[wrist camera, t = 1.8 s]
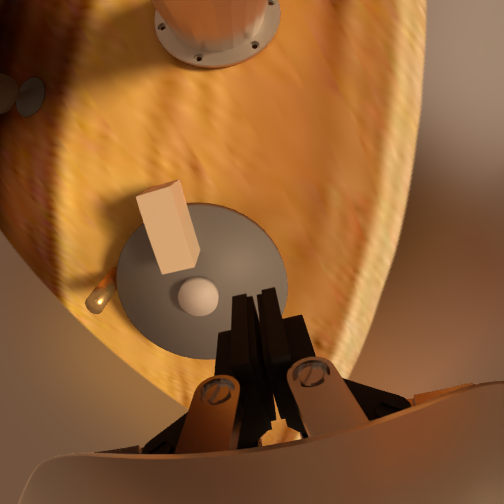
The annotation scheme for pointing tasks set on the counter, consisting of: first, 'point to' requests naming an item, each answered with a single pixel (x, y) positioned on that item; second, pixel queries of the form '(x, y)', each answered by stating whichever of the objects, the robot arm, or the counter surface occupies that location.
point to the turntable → (193, 270)
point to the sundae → (21, 95)
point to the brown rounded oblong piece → (102, 292)
